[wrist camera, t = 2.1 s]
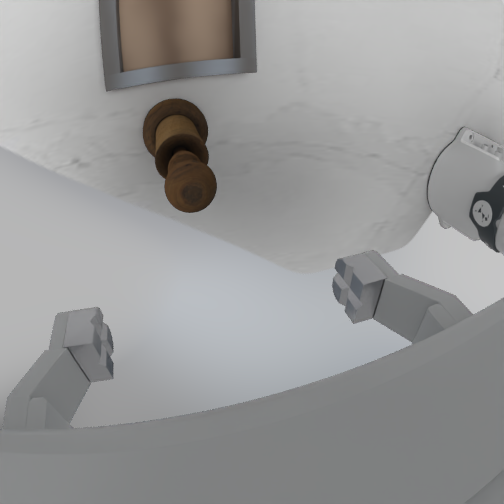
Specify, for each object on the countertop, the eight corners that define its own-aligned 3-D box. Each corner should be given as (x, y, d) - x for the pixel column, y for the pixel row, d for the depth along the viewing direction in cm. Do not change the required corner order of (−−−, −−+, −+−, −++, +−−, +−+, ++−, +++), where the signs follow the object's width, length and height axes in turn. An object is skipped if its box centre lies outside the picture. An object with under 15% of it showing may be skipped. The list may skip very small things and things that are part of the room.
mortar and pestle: (130, 134, 30) (109, 207, 16) (171, 86, 29) (186, 110, 14) (178, 169, 34) (201, 265, 20) (218, 124, 32) (275, 186, 18)
